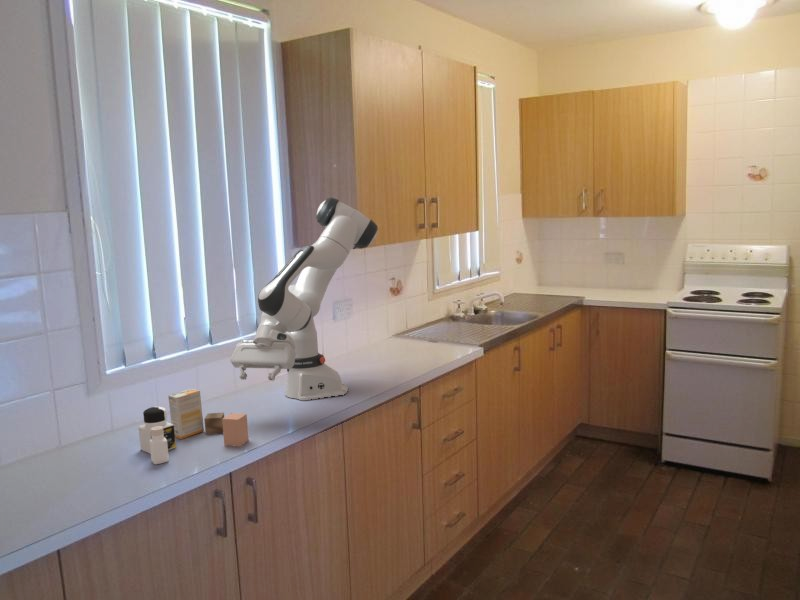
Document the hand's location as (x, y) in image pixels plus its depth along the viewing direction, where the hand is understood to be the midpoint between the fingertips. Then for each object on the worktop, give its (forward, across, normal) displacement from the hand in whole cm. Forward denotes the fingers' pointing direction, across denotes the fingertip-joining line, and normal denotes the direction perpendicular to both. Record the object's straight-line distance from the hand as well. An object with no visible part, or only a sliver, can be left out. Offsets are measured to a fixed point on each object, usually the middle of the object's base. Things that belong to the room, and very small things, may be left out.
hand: (256, 379), depth 199 cm
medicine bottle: (+26, -22, -3) cm, 34 cm away
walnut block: (+14, -13, +8) cm, 21 cm away
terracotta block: (+20, -1, +2) cm, 20 cm away
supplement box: (+17, -20, +5) cm, 27 cm away
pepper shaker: (+32, -16, -9) cm, 36 cm away
